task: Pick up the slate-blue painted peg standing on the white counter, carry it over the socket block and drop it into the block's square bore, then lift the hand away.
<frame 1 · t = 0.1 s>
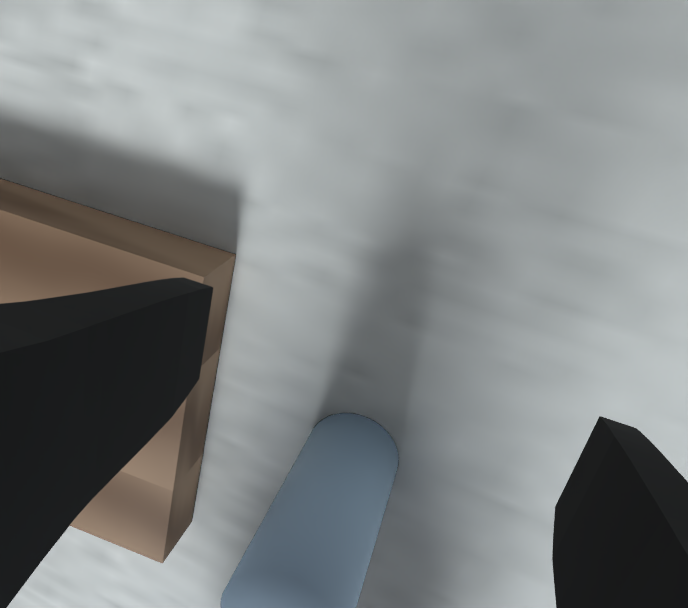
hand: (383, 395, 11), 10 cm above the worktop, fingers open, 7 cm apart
socket block: (79, 355, 26), on the worktop
peg: (352, 453, 24), on the worktop
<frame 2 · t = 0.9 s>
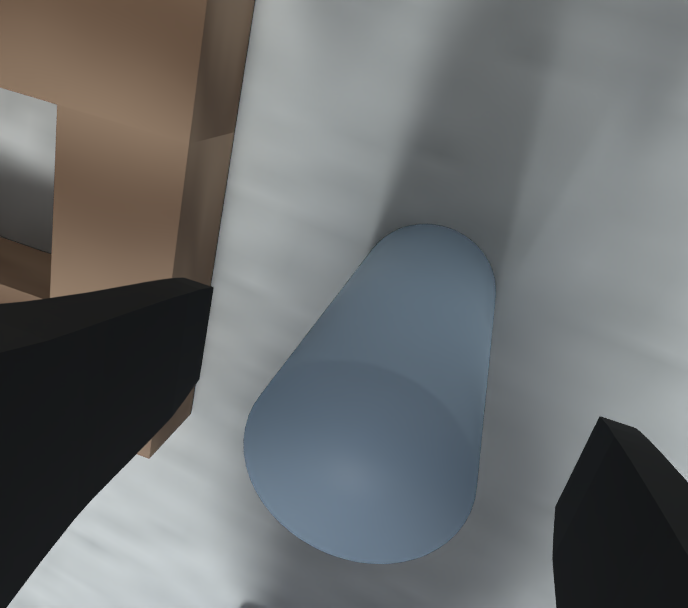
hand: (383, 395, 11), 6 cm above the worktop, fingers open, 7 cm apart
socket block: (33, 165, 18), on the worktop
peg: (426, 290, 17), on the worktop
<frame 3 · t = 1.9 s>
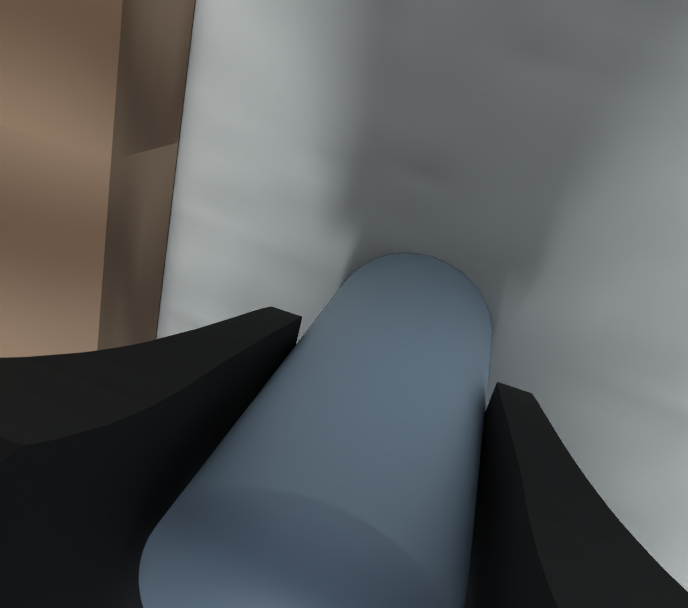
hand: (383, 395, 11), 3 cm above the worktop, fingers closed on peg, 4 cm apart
peg: (409, 331, 14), on the worktop, touching gripper
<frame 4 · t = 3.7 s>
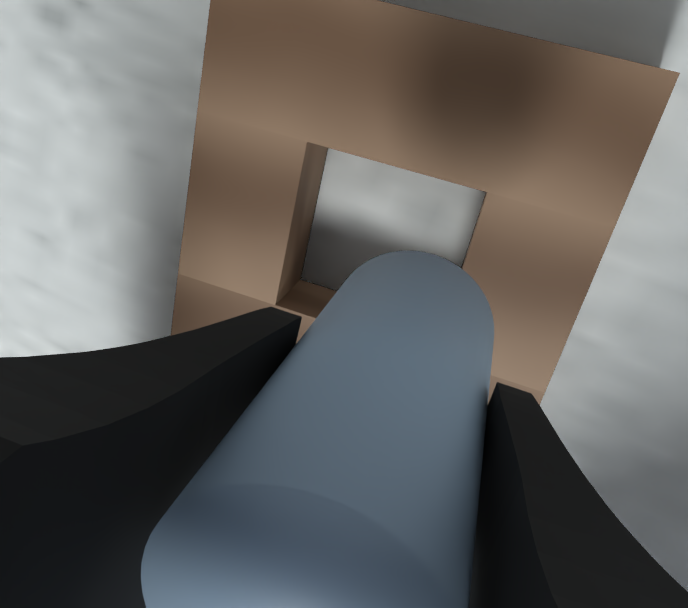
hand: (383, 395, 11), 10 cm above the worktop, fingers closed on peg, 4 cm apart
socket block: (389, 231, 21), on the worktop
peg: (410, 328, 14), point 7 cm above the worktop, touching gripper
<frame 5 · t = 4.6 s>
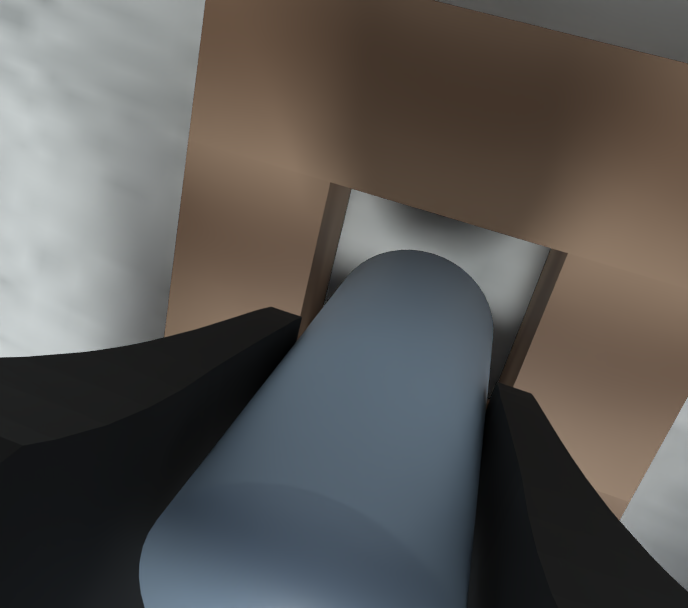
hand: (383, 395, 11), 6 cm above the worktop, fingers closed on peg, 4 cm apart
socket block: (427, 287, 17), on the worktop
peg: (409, 328, 14), point 3 cm above the worktop, touching gripper
when the fingers open (4 cm above the worktop, at t = 5.4 s): peg stays where it is, resting in socket block.
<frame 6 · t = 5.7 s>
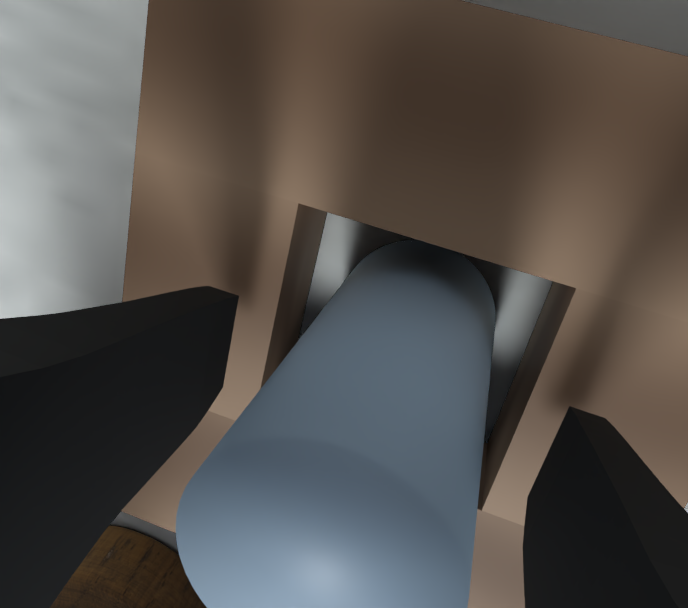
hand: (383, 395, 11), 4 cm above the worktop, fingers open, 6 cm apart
socket block: (414, 317, 15), on the worktop
mortar and pestle: (141, 598, 21), on the worktop
peg: (416, 314, 15), resting in socket block
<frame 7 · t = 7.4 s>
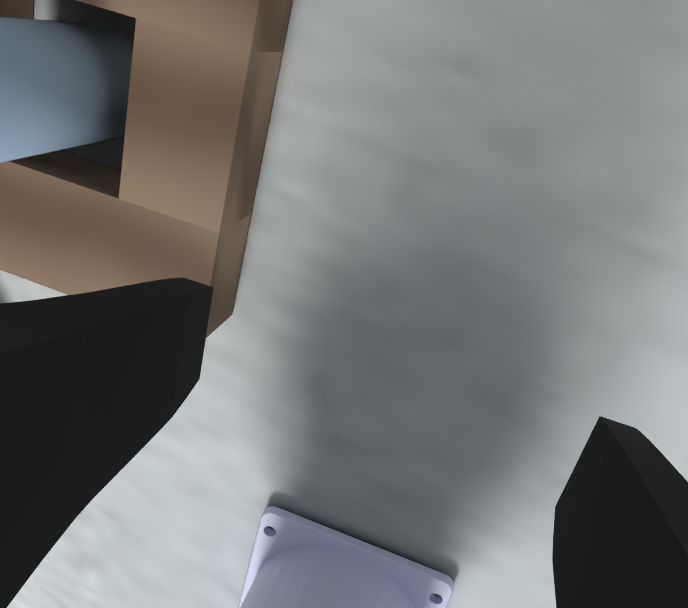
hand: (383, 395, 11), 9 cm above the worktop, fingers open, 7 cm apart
socket block: (99, 85, 21), on the worktop
peg: (100, 82, 21), resting in socket block
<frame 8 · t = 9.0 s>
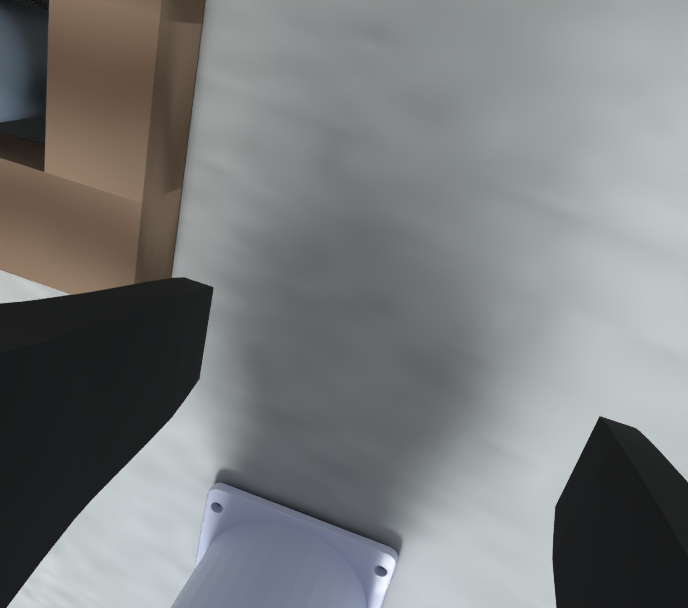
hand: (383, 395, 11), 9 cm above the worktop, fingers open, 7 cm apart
socket block: (29, 63, 21), on the worktop
peg: (30, 61, 21), resting in socket block
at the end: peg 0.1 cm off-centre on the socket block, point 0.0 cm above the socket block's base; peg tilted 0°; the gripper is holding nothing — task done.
